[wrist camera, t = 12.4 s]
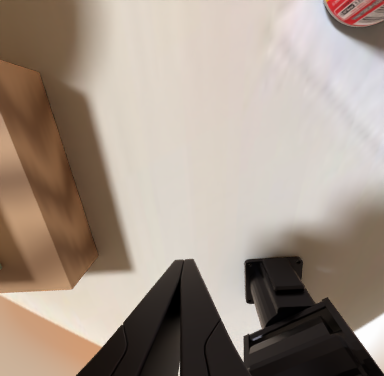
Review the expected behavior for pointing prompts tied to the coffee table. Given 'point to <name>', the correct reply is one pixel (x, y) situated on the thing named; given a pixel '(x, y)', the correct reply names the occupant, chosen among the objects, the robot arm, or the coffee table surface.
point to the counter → (37, 193)
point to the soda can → (356, 11)
